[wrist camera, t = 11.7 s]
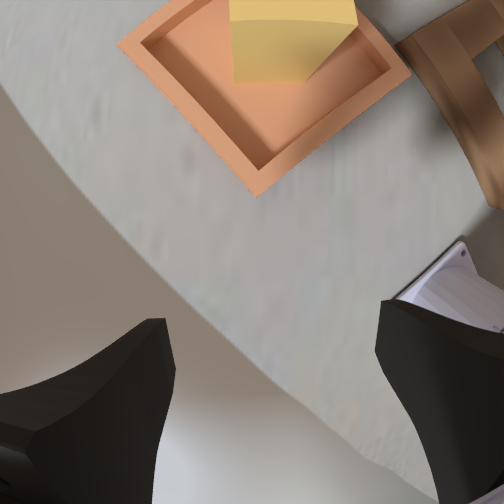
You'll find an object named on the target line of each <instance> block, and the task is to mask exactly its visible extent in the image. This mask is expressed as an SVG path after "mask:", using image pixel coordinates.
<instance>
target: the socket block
mask: <svg viewBox="0 0 504 504" xmlns="http://www.w3.org/2000/svg"><path fill="white" fill-rule="evenodd" d="M493 42H496V44H497V46H498V47H499V49H500V51H501V52H502V54H503V56H504V0H469V1H467V2H466V3H464V4H462V5H460V6H458V7H457V8H455V9H453V10H451V11H450V12H448V13H446V14H445V15H443V16H441V17H439V18H438V19H436V20H434V21H433V22H431V23H429V24H428V25H426V26H425V27H423V28H421V29H420V30H418V31H416V32H415V33H413V34H412V35H410V36H409V37H407V38H405V39H404V40H402V41H401V42H399V43H398V44H396V45H395V47H396V48H397V49H398V50H399V52H400V53H401V54H402V56H403V57H404V58H405V60H406V61H407V62H408V64H409V65H410V66H411V68H412V69H413V70H414V72H415V73H416V75H417V76H418V77H419V79H420V80H421V82H422V83H423V85H424V86H425V87H426V89H427V90H428V92H429V93H430V95H431V96H432V98H433V100H434V101H435V103H436V104H437V106H438V107H439V109H440V111H441V112H442V114H443V116H444V117H445V119H446V121H447V122H448V124H449V126H450V127H451V129H452V131H453V133H454V134H455V136H456V138H457V140H458V142H459V143H460V145H461V147H462V149H463V151H464V153H465V155H466V157H467V159H468V161H469V163H470V165H471V167H472V169H473V171H474V173H475V175H476V177H477V179H478V182H479V184H480V186H481V188H482V190H483V193H484V195H485V197H486V200H487V202H488V204H489V206H492V207H495V208H499V209H502V210H504V117H503V115H502V113H501V111H500V109H499V107H498V105H497V103H496V101H495V100H494V98H493V96H492V94H491V92H490V90H489V89H488V87H487V85H486V83H485V81H484V80H483V78H482V76H481V75H480V73H479V71H478V70H477V68H476V66H475V65H474V63H473V62H472V59H473V58H474V57H476V56H477V55H478V54H479V53H481V52H482V51H483V50H485V49H486V48H487V47H488V46H490V45H491V44H492V43H493Z"/></svg>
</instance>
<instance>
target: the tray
mask: <svg viewBox="0 0 504 504" xmlns="http://www.w3.org/2000/svg"><path fill="white" fill-rule="evenodd" d="M355 9H356V15H357V21H358V26H357V27H356V28H355V29H354V30H353V31H352V32H351V33H350V34H349V35H348V36H347V37H346V38H345V39H344V40H343V41H342V42H341V43H340V45H339V46H338V47H337V48H336V49H335V50H334V51H333V52H332V53H331V54H330V55H329V56H328V57H327V58H326V59H325V61H324V62H323V63H322V64H321V65H320V66H319V67H318V68H317V69H316V70H315V71H314V73H313V74H312V75H311V76H310V77H309V78H308V79H307V80H306V81H305V83H250V84H234V74H233V60H232V45H231V29H230V12H229V0H171V1H169V2H168V3H167V4H165V5H164V6H163V7H161V8H160V9H159V10H157V11H156V12H155V13H154V14H152V15H151V16H150V17H148V18H147V19H146V20H145V21H144V22H142V23H141V24H140V25H139V26H137V27H136V28H135V29H134V30H133V31H132V32H130V33H129V34H128V35H127V36H126V37H125V38H123V39H122V40H121V41H120V42H119V43H118V44H117V46H118V47H119V48H120V49H121V50H122V51H123V52H124V53H125V54H126V55H127V56H128V57H129V58H130V59H131V60H132V61H133V62H134V63H135V64H136V66H137V67H138V68H139V69H140V70H141V71H142V72H143V73H144V74H145V75H146V76H147V77H148V78H149V79H150V80H151V81H152V82H153V83H154V84H155V86H156V87H157V88H158V89H159V90H160V91H161V92H162V93H163V94H164V95H165V96H166V97H167V98H168V99H169V101H170V102H171V103H172V104H173V105H174V106H175V107H176V108H177V109H178V110H179V111H180V113H181V114H182V115H183V116H184V117H185V118H186V119H187V120H188V121H189V122H190V123H191V125H192V126H193V127H194V128H195V129H196V130H197V131H198V132H199V133H200V135H201V136H202V137H203V138H204V139H205V140H206V141H207V142H208V143H209V145H210V146H211V147H212V148H213V149H214V150H215V151H216V152H217V154H218V155H219V156H220V157H221V158H222V159H223V160H224V161H225V163H226V164H227V165H228V166H229V167H230V168H231V169H232V171H233V172H234V173H235V174H236V175H237V176H238V177H239V179H240V180H241V181H242V182H243V183H244V184H245V185H246V187H247V188H248V189H249V190H250V191H251V192H252V194H253V195H254V196H255V197H256V198H257V197H258V196H259V195H260V194H261V193H263V192H264V191H265V190H266V189H267V188H269V187H270V186H271V185H272V184H273V183H275V182H276V181H277V180H278V179H280V178H281V177H282V176H283V175H284V174H286V173H287V172H288V171H289V170H291V169H292V168H293V167H294V166H295V165H297V164H298V163H299V162H300V161H302V160H303V159H304V158H305V157H307V156H308V155H309V154H310V153H311V152H313V151H314V150H315V149H316V148H318V147H319V146H320V145H321V144H323V143H324V142H325V141H326V140H328V139H329V138H330V137H332V136H333V135H334V134H335V133H337V132H338V131H339V130H340V129H342V128H343V127H344V126H345V125H347V124H348V123H349V122H351V121H352V120H353V119H354V118H356V117H357V116H358V115H360V114H361V113H362V112H364V111H365V110H366V109H367V108H369V107H370V106H371V105H373V104H374V103H375V102H377V101H378V100H379V99H380V98H382V97H383V96H384V95H386V94H387V93H388V92H390V91H391V90H392V89H394V88H395V87H396V86H398V85H399V84H400V83H402V82H403V81H404V80H406V79H407V78H409V77H410V76H411V75H412V73H411V72H410V71H409V69H408V68H407V67H406V65H405V64H404V63H403V61H402V60H401V59H400V57H399V56H398V55H397V53H396V52H395V51H394V50H393V48H392V47H391V46H390V45H389V43H388V42H387V41H386V40H385V39H384V37H383V36H382V35H381V34H380V33H379V31H378V30H377V29H376V28H375V27H374V26H373V25H372V23H371V22H370V21H369V20H368V19H367V18H366V17H365V16H364V15H363V14H362V12H361V11H360V10H359V9H358V8H357V7H356V6H355Z"/></svg>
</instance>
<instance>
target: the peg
mask: <svg viewBox="0 0 504 504" xmlns="http://www.w3.org/2000/svg"><path fill="white" fill-rule="evenodd" d="M229 12H230V29H231V45H232V60H233V74H234V84H250V83H305V81H306V80H307V79H308V78H309V77H310V76H311V75H312V74H313V73H314V71H315V70H316V69H317V68H318V67H319V66H320V65H321V64H322V63H323V62H324V61H325V59H326V58H327V57H328V56H329V55H330V54H331V53H332V52H333V51H334V50H335V49H336V48H337V47H338V46H339V45H340V43H341V42H342V41H343V40H344V39H345V38H346V37H347V36H348V35H349V34H350V33H351V32H352V31H353V30H354V29H355V28H356V27H357V26H358V21H357V15H356V9H355V4H354V0H229Z"/></svg>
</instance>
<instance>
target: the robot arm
mask: <svg viewBox="0 0 504 504" xmlns="http://www.w3.org/2000/svg"><path fill="white" fill-rule="evenodd" d="M462 251H463V254H462V255H461V253H462ZM375 353H376V356H377V358H378V361H379V363H380V366H381V368H382V370H383V373H384V374H385V376H386V378H387V380H388V381H389V383H390V385H391V386H392V388H393V390H394V391H395V393H396V395H397V396H398V398H399V400H400V401H401V403H402V405H403V406H404V408H405V410H406V411H407V413H408V415H409V416H410V418H411V420H412V422H413V424H414V426H415V428H416V430H417V433H418V435H419V438H420V440H421V443H422V445H423V448H424V451H425V454H426V456H427V459H428V462H429V465H430V468H431V472H432V475H433V479H434V483H435V486H436V490H437V494H438V499H439V504H504V291H503V290H501V289H500V288H498V287H496V286H495V285H493V284H492V283H490V282H488V281H487V280H485V279H483V278H482V277H480V276H479V275H478V273H477V270H476V268H475V265H474V263H473V261H472V258H471V256H470V254H469V251H468V249H467V247H466V244H465V243H464V242H462V241H458V242H456V243H455V244H454V245H453V246H452V247H451V248H450V249H449V250H448V251H447V252H446V253H445V254H444V255H443V256H442V257H441V258H440V259H439V260H438V261H437V262H436V263H435V264H434V265H433V266H431V267H430V268H429V269H428V270H427V271H426V272H425V273H424V274H423V275H422V276H421V277H419V278H418V279H417V280H416V281H415V282H414V283H413V284H412V285H410V286H409V287H408V288H407V289H406V290H405V291H404V292H402V293H401V294H400V295H399V296H398V297H397V298H395V299H392V300H385V301H381V308H380V316H379V324H378V332H377V339H376V345H375ZM175 371H176V367H175V363H174V358H173V354H172V349H171V344H170V339H169V334H168V329H167V325H166V319H165V318H156V319H155V318H154V319H146V320H144V321H143V322H141V323H140V324H139V325H137V326H136V327H134V328H133V329H131V330H130V331H129V332H127V333H126V334H125V335H123V336H122V337H121V338H119V339H118V340H116V341H115V342H114V343H112V344H111V345H109V346H108V347H106V348H105V349H103V350H102V351H100V352H99V353H97V354H96V355H94V356H93V357H91V358H90V359H88V360H86V361H85V362H83V363H81V364H79V365H78V366H76V367H74V368H72V369H70V370H68V371H66V372H64V373H62V374H60V375H57V376H55V377H52V378H50V379H48V380H45V381H43V382H40V383H38V384H35V385H32V386H29V387H25V388H22V389H19V390H15V391H11V392H7V393H3V394H0V504H152V493H153V481H154V471H155V464H156V456H157V450H158V446H159V442H160V438H161V434H162V431H163V427H164V423H165V420H166V416H167V412H168V409H169V405H170V401H171V398H172V394H173V387H174V380H175V379H174V378H175Z"/></svg>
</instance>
